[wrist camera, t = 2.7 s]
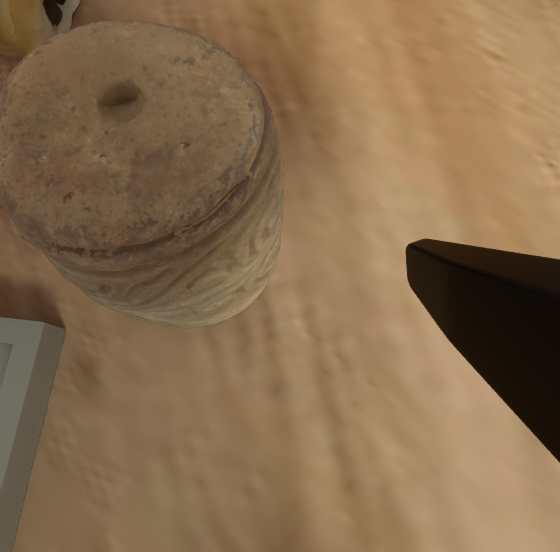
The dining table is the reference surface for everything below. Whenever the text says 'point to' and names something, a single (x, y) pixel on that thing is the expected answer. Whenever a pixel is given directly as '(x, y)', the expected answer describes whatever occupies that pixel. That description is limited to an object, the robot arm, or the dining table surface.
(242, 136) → the carving
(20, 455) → the tray
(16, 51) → the pastry
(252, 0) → the dining table surface
